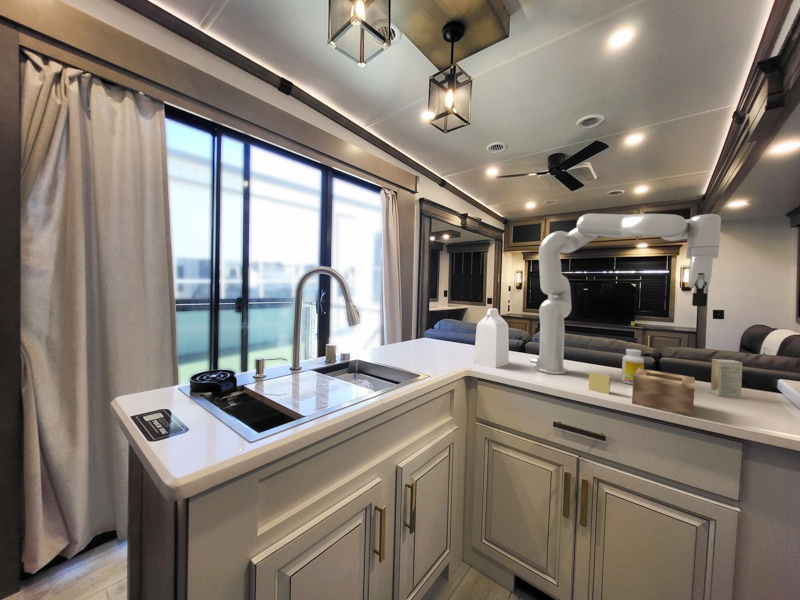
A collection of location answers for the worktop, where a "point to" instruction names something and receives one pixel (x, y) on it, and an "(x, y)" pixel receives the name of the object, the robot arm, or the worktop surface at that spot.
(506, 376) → the worktop surface
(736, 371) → the skincare box
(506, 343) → the milk
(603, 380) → the token
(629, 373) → the supplement bottle
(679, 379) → the box
